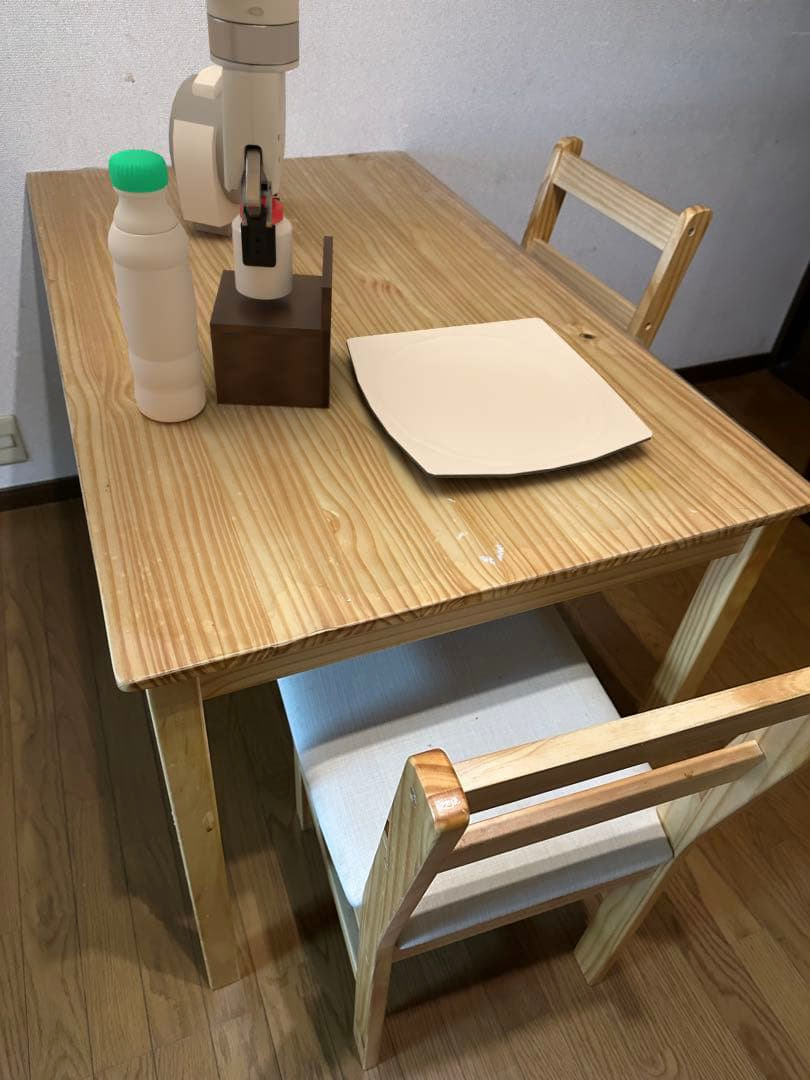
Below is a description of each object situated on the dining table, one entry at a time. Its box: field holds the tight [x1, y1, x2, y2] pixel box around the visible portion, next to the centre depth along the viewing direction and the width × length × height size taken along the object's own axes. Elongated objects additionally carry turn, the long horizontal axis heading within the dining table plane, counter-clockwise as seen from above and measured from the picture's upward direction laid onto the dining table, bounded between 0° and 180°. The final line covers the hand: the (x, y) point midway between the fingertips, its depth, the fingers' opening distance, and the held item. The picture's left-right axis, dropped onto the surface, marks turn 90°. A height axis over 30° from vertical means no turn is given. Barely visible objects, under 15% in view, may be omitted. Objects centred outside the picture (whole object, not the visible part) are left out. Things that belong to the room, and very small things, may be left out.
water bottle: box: [107, 148, 207, 423], centre depth 73 cm, size 7×7×25 cm
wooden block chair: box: [209, 235, 334, 409], centre depth 82 cm, size 12×12×14 cm
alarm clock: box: [168, 64, 241, 237], centre depth 110 cm, size 18×8×20 cm, turn 164°
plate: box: [345, 317, 654, 479], centre depth 86 cm, size 29×29×3 cm
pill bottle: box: [231, 197, 294, 300], centre depth 77 cm, size 6×6×8 cm
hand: (262, 249), depth 77 cm, fingers closed on pill bottle, 5 cm apart
